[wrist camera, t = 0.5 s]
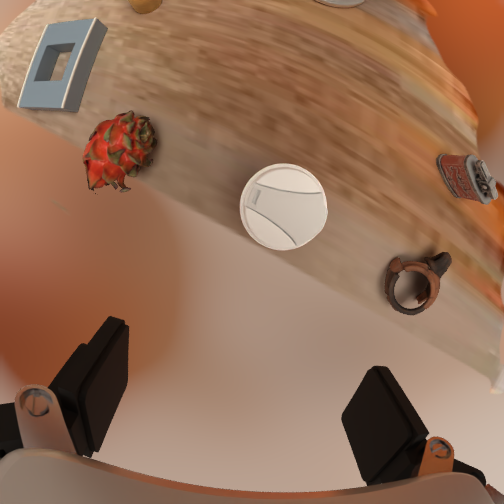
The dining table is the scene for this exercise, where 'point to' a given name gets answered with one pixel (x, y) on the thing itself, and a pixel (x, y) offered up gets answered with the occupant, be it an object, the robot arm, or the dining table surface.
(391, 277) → the pottery mug
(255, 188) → the paper cup
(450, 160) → the lighter
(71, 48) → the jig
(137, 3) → the brass flanged cylinder
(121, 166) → the dragon fruit
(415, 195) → the dining table surface
